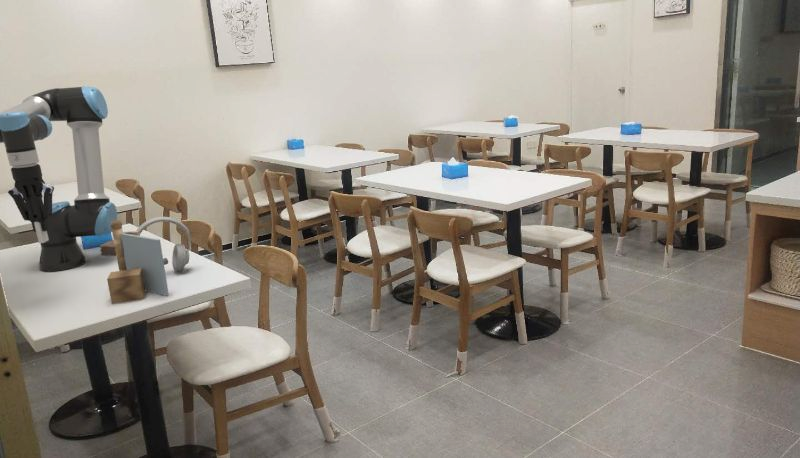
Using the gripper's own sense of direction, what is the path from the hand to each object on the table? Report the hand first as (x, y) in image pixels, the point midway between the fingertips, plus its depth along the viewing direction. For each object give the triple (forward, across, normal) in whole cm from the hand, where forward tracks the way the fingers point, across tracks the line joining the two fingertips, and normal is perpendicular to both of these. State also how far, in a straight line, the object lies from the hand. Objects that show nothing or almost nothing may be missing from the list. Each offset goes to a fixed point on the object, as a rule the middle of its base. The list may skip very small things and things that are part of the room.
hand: (43, 241), depth 186 cm
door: (+19, +28, +4) cm, 34 cm away
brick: (+21, -2, +50) cm, 54 cm away
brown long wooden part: (+19, +20, +9) cm, 29 cm away
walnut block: (+19, +24, -2) cm, 31 cm away
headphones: (+20, +27, +20) cm, 39 cm away
